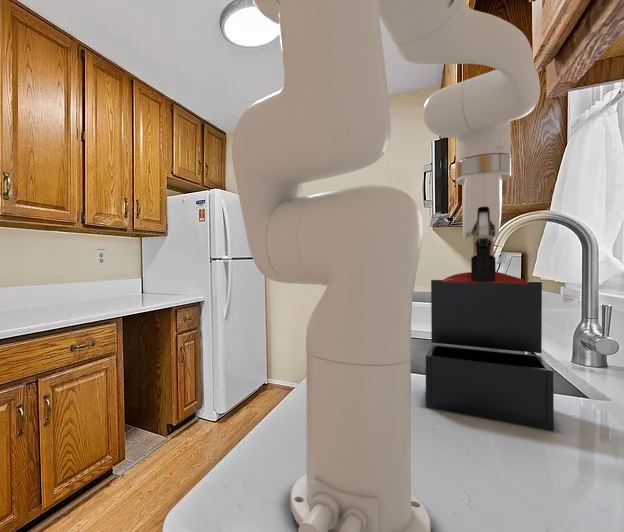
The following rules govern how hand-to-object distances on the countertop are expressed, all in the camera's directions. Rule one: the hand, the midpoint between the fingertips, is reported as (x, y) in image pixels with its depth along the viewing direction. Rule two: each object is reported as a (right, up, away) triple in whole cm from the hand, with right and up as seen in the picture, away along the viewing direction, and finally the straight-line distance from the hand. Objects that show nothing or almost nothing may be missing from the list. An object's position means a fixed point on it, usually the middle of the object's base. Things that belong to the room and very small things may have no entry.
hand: (482, 280), depth 62 cm
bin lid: (+4, -7, +6) cm, 10 cm away
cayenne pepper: (0, -1, 0) cm, 1 cm away
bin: (+1, -22, +2) cm, 22 cm away
